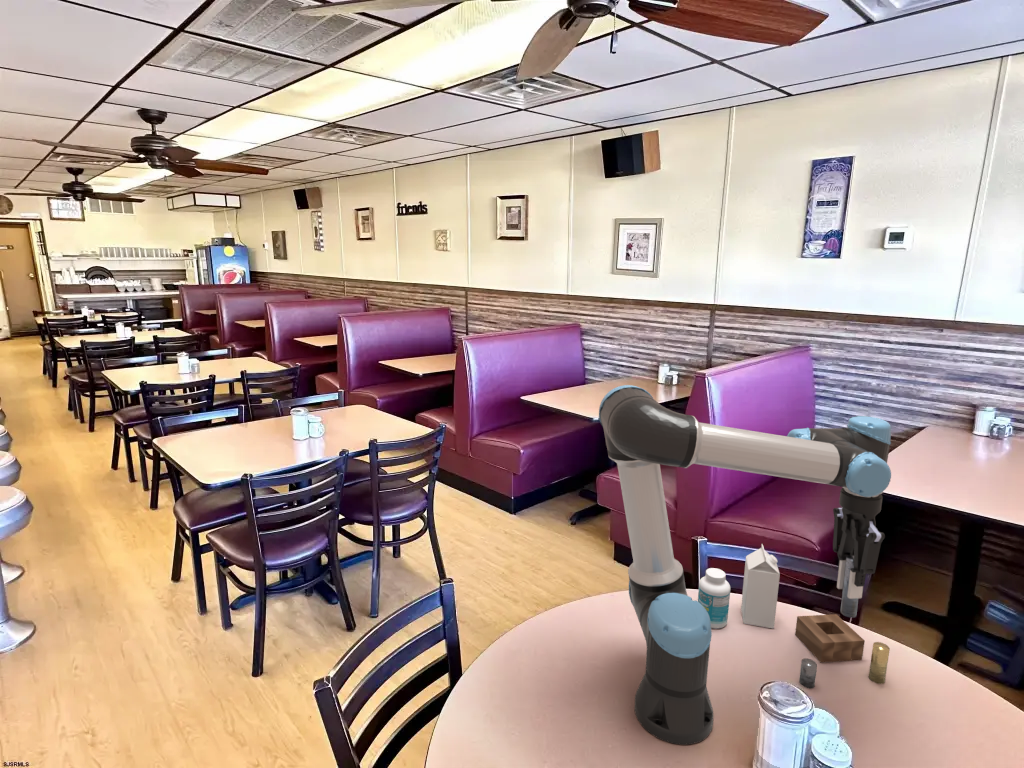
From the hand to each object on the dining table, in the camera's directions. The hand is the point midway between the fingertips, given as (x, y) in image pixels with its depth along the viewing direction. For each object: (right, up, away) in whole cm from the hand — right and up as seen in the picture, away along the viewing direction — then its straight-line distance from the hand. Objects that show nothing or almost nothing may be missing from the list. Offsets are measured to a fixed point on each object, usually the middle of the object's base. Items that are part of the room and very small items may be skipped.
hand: (848, 592), depth 123 cm
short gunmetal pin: (-9, -19, -1) cm, 22 cm away
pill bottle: (-22, -15, +21) cm, 34 cm away
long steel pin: (0, -5, +1) cm, 5 cm away
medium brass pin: (+6, -19, +1) cm, 20 cm away
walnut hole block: (+2, -17, +11) cm, 20 cm away
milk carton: (-10, -15, +22) cm, 29 cm away
